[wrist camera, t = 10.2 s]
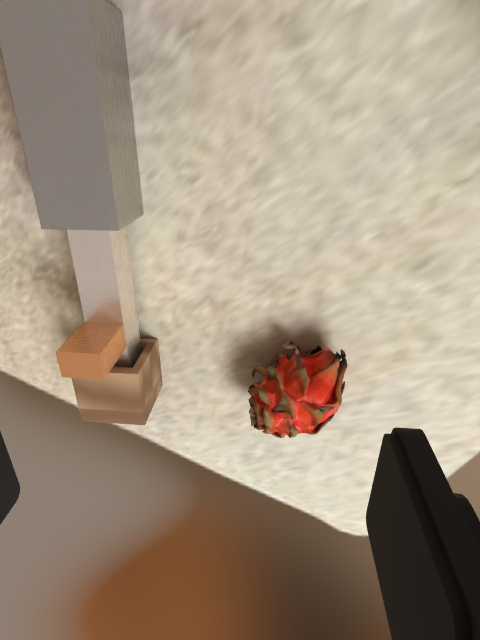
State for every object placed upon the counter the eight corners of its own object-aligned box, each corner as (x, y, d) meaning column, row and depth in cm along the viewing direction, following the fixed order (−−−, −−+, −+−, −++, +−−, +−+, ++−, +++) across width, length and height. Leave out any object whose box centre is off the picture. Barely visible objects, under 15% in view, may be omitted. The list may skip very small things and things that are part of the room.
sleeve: (41, 13, 29) (-14, -14, 24) (121, 11, 29) (84, -16, 23) (77, 213, 36) (41, 228, 30) (143, 214, 35) (118, 230, 30)
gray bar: (74, 155, 32) (10, 164, 24) (116, 155, 32) (64, 165, 24) (111, 366, 42) (73, 422, 34) (143, 368, 41) (113, 424, 34)
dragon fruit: (246, 390, 45) (325, 323, 42) (290, 453, 42) (379, 386, 40) (213, 395, 37) (307, 313, 35) (265, 472, 34) (373, 390, 32)
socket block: (99, 336, 42) (69, 370, 36) (157, 338, 41) (137, 374, 35) (107, 382, 44) (81, 421, 38) (162, 384, 44) (144, 425, 38)
